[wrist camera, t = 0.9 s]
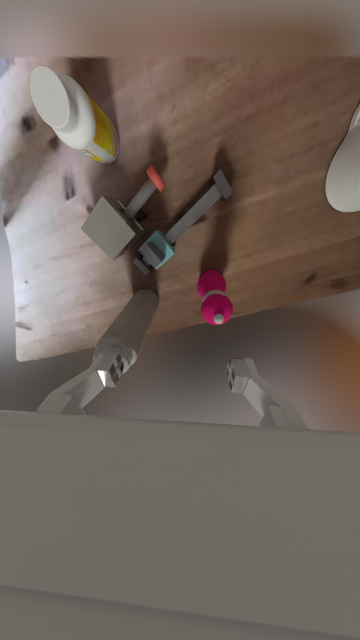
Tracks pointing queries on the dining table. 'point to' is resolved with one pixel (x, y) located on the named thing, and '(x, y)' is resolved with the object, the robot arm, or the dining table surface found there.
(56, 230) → the dining table surface
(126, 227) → the cabinet
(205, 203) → the rail
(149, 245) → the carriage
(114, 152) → the supplement bottle
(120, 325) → the thermos bottle
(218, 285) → the pepper mill
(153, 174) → the plunger
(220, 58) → the dining table surface
